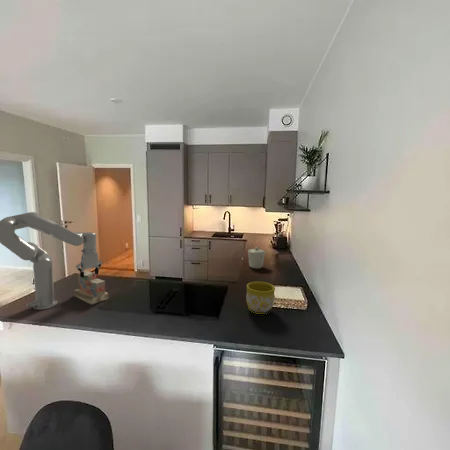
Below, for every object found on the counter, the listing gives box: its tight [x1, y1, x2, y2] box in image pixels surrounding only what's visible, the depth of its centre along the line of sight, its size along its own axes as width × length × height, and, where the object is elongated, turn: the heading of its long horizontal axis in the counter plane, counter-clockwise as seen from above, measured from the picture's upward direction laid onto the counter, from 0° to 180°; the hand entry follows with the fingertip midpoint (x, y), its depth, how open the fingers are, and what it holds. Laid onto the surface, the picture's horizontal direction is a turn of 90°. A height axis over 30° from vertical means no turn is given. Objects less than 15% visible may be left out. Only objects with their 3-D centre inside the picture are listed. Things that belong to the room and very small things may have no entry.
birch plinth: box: [73, 288, 110, 306], centre depth 176 cm, size 12×22×4 cm, turn 56°
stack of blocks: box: [77, 270, 106, 297], centre depth 174 cm, size 21×6×12 cm, turn 59°
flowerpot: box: [245, 281, 276, 315], centre depth 164 cm, size 18×18×16 cm
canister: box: [247, 246, 266, 270], centre depth 260 cm, size 18×18×21 cm
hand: (89, 275), depth 174 cm, fingers open, 9 cm apart
